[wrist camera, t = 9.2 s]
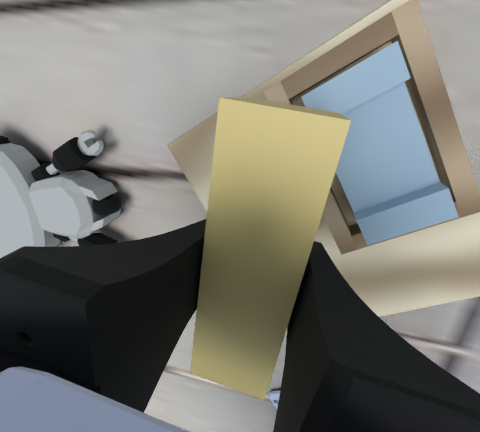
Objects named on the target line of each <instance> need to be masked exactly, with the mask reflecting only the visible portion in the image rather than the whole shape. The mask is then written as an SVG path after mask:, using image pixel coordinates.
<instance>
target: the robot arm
mask: <svg viewBox="0 0 480 432" xmlns="http://www.w3.org/2000/svg"><path fill="white" fill-rule="evenodd" d="M205 228H206V219H205V220H202V221H199V222H197V223H194V224H191V225H189V226H186V227H183V228H180V229H177V230H174V231H171V232H168V233H165V234H161V235H157V236H153V237H149V238H144V239H140V240H134V241H127V242H120V243H113V244H105V245H93V246H74V247H33V246H24V247H21V248H19V249H17V250H15V251H13V252H12V253H10V254H8V255H6V256H4V257H2V258H0V432H188V431H186V430H183V429H181V428H178V427H176V426H174V425H171V424H169V423H167V422H164V421H162V420H159V419H157V418H155V417H152V416H150V415H148V414H145V413H144V411H145V409H146V407H147V404H148V402H149V400H150V398H151V396H152V394H153V392H154V389H155V387H156V385H157V383H158V381H159V379H160V377H161V375H162V372H163V370H164V368H165V366H166V364H167V362H168V360H169V358H170V356H171V354H172V352H173V350H174V348H175V346H176V344H177V342H178V340H179V338H180V336H181V334H182V332H183V330H184V328H185V327H186V325H187V323H188V322H189V320H190V318H191V317H192V315H193V314H194V312H195V311H196V309H197V303H198V294H199V284H200V275H201V265H202V256H203V246H204V237H205ZM269 399H270V400H271V402H272V403H273V405H274V406H275V408H276V409H277V414H276V420H275V426H274V432H480V394H479V393H478V392H476V391H475V390H473V389H472V388H470V387H469V386H467V385H466V384H464V383H463V382H461V381H460V380H459V379H457V378H456V377H454V376H453V375H451V374H450V373H448V372H447V371H445V370H444V369H442V368H441V367H439V366H438V365H437V364H435V363H434V362H432V361H431V360H430V359H428V358H427V357H426V356H425V355H423V354H422V353H421V352H419V351H418V350H417V349H415V348H414V347H413V346H411V345H410V344H409V343H408V342H407V341H405V340H404V339H403V338H402V337H400V336H399V335H398V334H397V333H396V332H395V331H394V330H392V329H391V328H390V327H389V326H388V325H387V324H386V323H385V322H384V321H382V320H381V319H380V318H379V317H378V316H377V315H376V314H375V313H374V312H373V311H372V310H371V309H370V308H369V307H368V306H367V305H366V304H365V303H364V301H363V300H362V299H361V298H360V297H359V296H358V295H357V294H356V293H355V291H354V290H353V289H352V288H351V286H350V285H349V284H348V283H347V281H346V280H345V279H344V277H343V276H342V275H341V273H340V272H339V270H338V269H337V267H336V266H335V264H334V263H333V261H332V260H331V258H330V256H329V255H328V253H327V251H326V250H325V248H324V246H323V245H322V243H320V242H316V241H314V242H313V246H312V249H311V252H310V255H309V259H308V262H307V265H306V268H305V271H304V275H303V278H302V281H301V284H300V287H299V291H298V294H297V297H296V300H295V304H294V307H293V310H292V313H291V316H290V320H289V323H288V326H287V341H286V356H285V365H284V371H283V378H282V384H281V390H278V391H271V392H270V393H269Z"/></svg>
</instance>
